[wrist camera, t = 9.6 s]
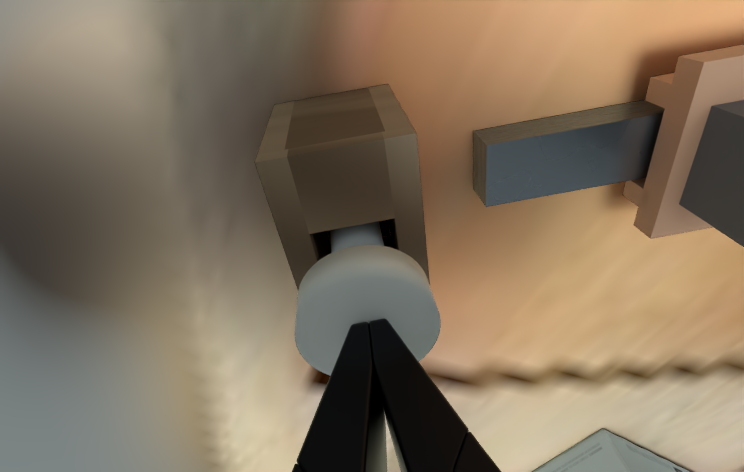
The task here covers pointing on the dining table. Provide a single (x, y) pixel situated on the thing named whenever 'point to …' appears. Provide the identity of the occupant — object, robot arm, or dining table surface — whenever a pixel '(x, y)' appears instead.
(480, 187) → the rail
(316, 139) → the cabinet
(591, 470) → the tea box
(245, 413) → the dining table surface
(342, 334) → the round gray button
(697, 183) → the carriage
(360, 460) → the robot arm
